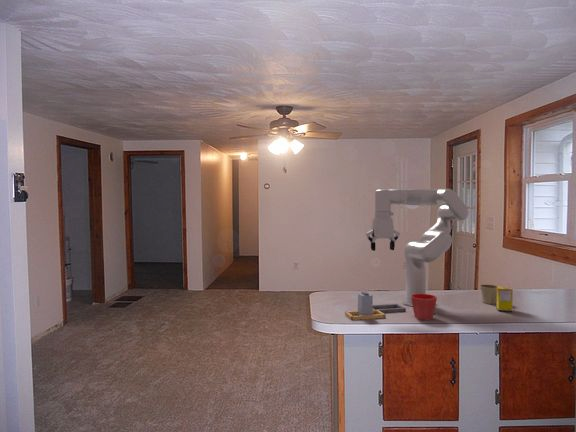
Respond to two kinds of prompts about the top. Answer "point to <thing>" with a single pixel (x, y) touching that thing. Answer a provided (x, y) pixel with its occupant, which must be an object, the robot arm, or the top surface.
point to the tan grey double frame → (379, 312)
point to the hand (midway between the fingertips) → (382, 250)
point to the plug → (365, 304)
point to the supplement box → (504, 299)
